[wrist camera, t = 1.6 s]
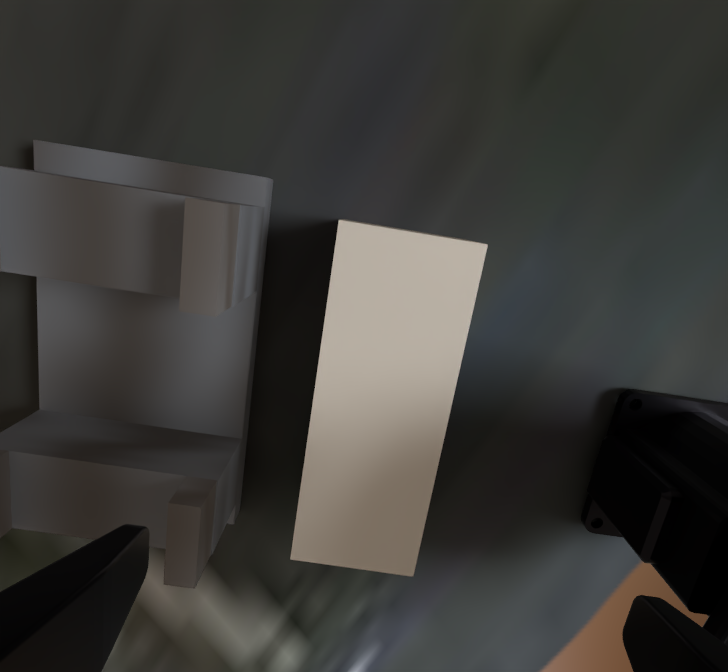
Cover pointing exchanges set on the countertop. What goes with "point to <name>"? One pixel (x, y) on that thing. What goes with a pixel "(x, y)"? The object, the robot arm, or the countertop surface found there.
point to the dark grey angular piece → (134, 346)
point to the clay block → (383, 393)
